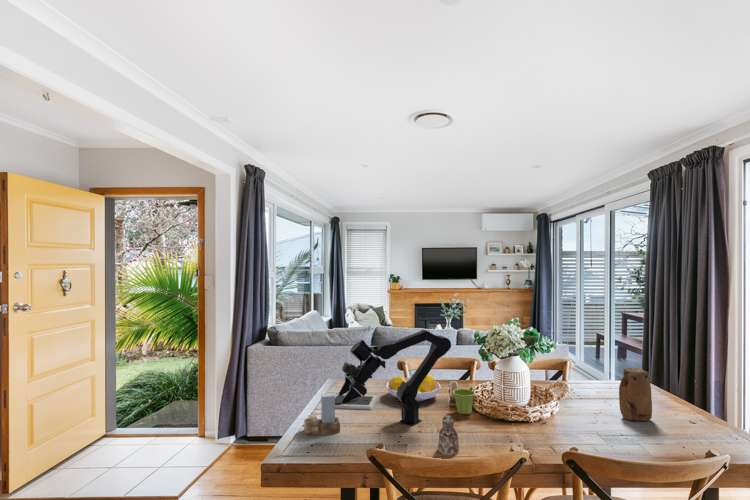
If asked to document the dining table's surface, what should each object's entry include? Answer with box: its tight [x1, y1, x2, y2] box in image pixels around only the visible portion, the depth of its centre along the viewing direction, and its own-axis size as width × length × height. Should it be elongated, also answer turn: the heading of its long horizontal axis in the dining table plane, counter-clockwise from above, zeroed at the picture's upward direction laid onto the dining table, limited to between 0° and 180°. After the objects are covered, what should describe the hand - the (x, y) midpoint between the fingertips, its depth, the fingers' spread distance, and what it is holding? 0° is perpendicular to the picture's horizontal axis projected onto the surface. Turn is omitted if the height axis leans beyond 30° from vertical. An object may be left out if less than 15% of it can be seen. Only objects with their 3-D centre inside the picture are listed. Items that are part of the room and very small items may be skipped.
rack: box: [303, 416, 341, 437], centre depth 160 cm, size 13×6×4 cm, turn 103°
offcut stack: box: [303, 414, 318, 433], centre depth 160 cm, size 5×6×5 cm
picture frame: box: [334, 393, 378, 411], centre depth 193 cm, size 16×3×21 cm
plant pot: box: [452, 388, 476, 415], centre depth 179 cm, size 9×9×9 cm
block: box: [618, 367, 653, 422], centre depth 169 cm, size 11×8×20 cm
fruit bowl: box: [386, 373, 442, 403], centre depth 199 cm, size 28×27×11 cm
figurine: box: [437, 412, 460, 456], centre depth 142 cm, size 7×7×12 cm
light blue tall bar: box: [320, 393, 336, 424], centre depth 161 cm, size 5×3×14 cm, turn 103°
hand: (340, 398), depth 163 cm, fingers open, 9 cm apart
